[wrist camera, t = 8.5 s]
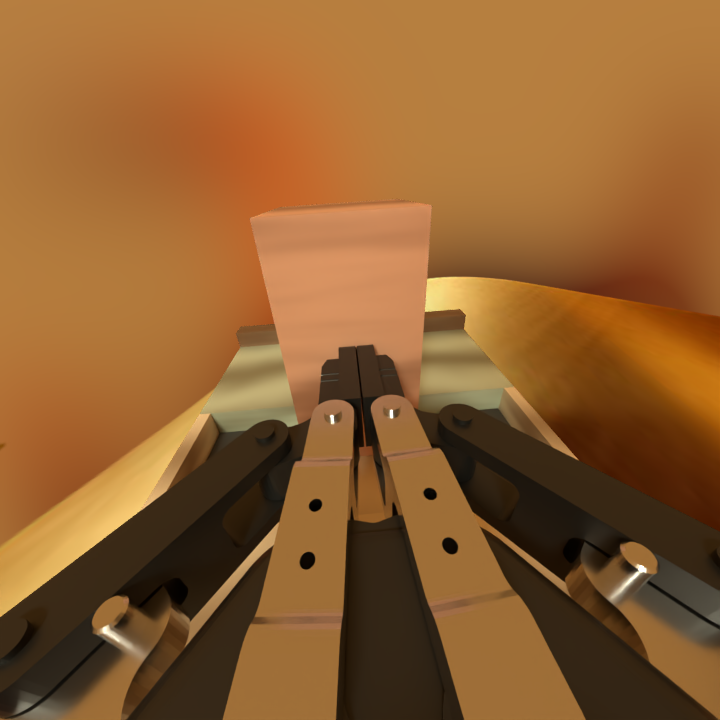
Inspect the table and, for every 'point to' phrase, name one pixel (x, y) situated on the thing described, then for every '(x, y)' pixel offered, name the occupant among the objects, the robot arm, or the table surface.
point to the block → (346, 288)
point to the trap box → (437, 389)
